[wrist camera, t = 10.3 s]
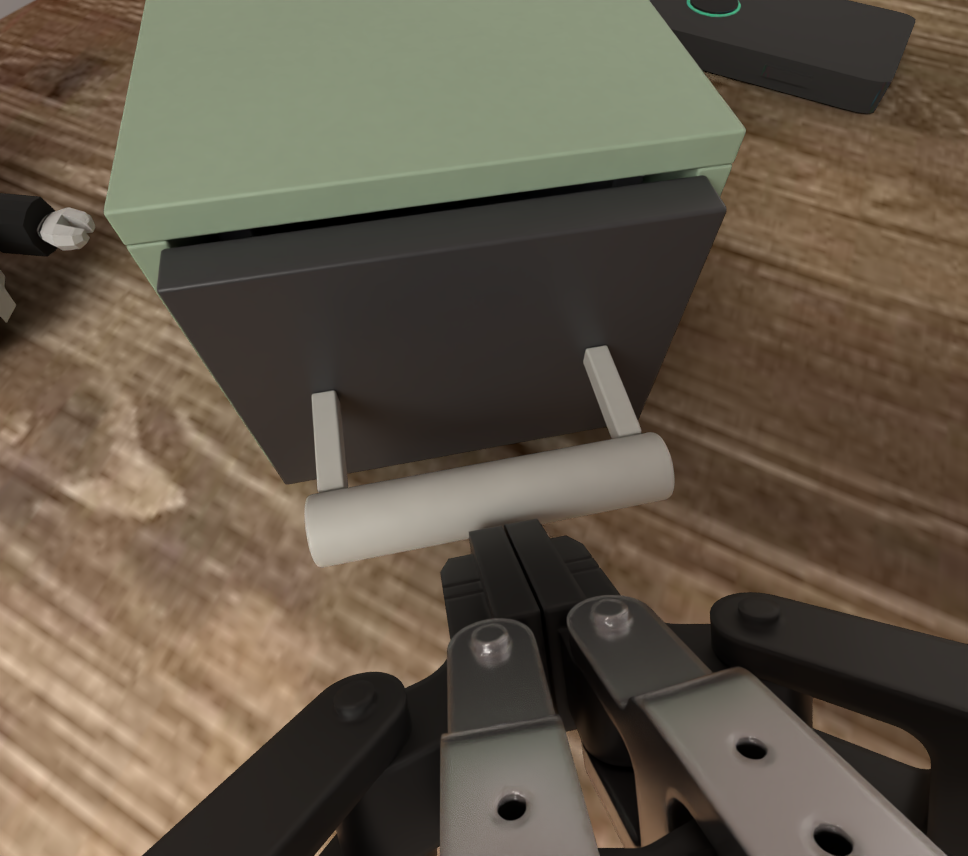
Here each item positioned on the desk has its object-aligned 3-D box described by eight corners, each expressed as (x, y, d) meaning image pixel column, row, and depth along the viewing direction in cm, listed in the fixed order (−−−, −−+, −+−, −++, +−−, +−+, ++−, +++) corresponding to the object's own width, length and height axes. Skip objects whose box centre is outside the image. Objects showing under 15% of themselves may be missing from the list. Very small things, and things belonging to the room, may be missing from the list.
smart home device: (585, -64, 37) (919, 11, 32) (581, -31, 38) (900, 46, 33) (523, -12, 33) (892, 83, 28) (522, 22, 35) (871, 118, 29)
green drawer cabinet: (637, 404, 20) (748, 129, 12) (273, 468, 19) (100, 213, 11) (534, 155, 28) (557, -124, 19) (267, 190, 27) (163, -94, 18)
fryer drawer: (688, 545, 17) (837, 373, 10) (289, 628, 16) (128, 500, 9) (535, 170, 26) (555, -61, 19) (276, 204, 25) (192, -29, 18)
